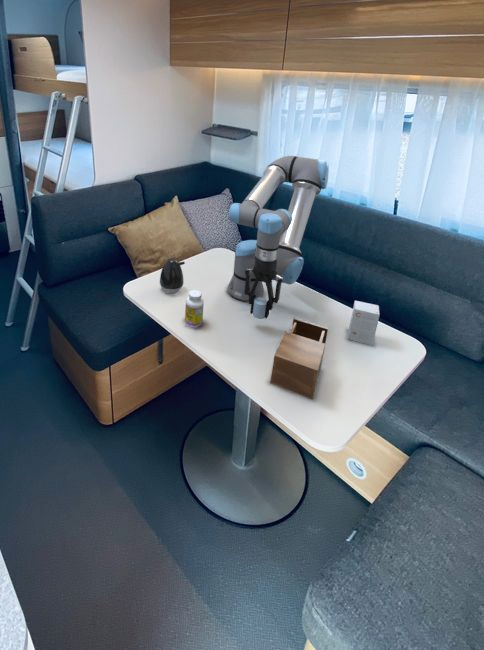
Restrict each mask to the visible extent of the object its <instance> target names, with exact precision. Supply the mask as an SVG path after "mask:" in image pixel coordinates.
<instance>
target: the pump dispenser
mask: <svg viewBox="0 0 484 650" xmlns="http://www.w3.org/2000/svg"><path fill="white" fill-rule="evenodd" d="M185 264H186V262H185V261H178V259H177V258H176V257H175V258H174V257H170V258H167V260H166V261H165V262H164V264H163V266H162V268H161V272H160V276H159V285H160V287H161V289H162V290H163V292H164V293H167V294H176V293H179V292H180V291H181V290H182V288H183V286H184V283H185V282H184V274H183V269H182V266H183V265H185Z"/></svg>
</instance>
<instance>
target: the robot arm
mask: <svg viewBox="0 0 484 650" xmlns="http://www.w3.org/2000/svg"><path fill="white" fill-rule="evenodd" d="M328 182H329V163H328V162H327V161H326V160H323V159H319V158H310V157H304V156H296V155H287V156H286V155H285V156H282V157H280V158H278V159H275V160H274V161H272V162H270V163H269V164H268V165H267V166H266V168H265V169H264V171H263V175H262V177H261V178H260V179H259V181H258V182H257V183H256V184H255V186H254V187H253V188H252V189H251V191H250V192H249V193H248V195H246V197H245V199H244V200H243V201H242V202H241V203H240V202H233V203H232V204H231V205H230V208H229V210H228V219H229V221H230V222H231V223H234V224H238V225H240V226H241V225H242V226H245V227H250V228H255V229H257V233H256V239H247V240H242V241H240V242H239V243H238V244H236V246H235V252H234V261H233V262H234V263H233V265H234V266H233V274H232V276H231V279H230V281H229V282H228V285H227V293H228V295H229V296H230V297H232V298H233V299H235V300H238V301H240V302H245V303H248V305H250V310H249V311H250V312H249V313H250V315H253V306H254V299H255V298H264V294H265V287H264V284H263V283H265V286H266V292H267V298H268V299H267V304H266V312H265V318H264V319H268V317H269V315H270V311H272V309H273V307H274V304H278V302H279V301H280V297H281V290H282V284H286V285H293V284H295V283H296V282H297V281H298V278H300V275H301V273H302V270H303V266H304V264H305V259H304V258H303V256H302V255H303V253H302V251H301V249H300V247H301V244H302V240H303V238H304V234H305V231H306V227H307V224H308V221H309V218H310V215H311V212H312V208H313V205H314V201H315V198H316V196H318V195H320V193H321V190H324V189H327V186H328ZM284 183H289V184H291V187H292V189H293V192H292V196H291V200H290V203H289V206H288V209H284V208H278V209H276V210H271V209H267V208H264V207H265V206H266V204H267V202H268V201H269V200H270V198H271V197H272V196H273V194H274V193H275V192H276V190H277V189H278V187H279V186H282V185H283V184H284ZM273 281H275V282H276V284H275V291H274V288H273ZM274 292H275V293H274Z"/></svg>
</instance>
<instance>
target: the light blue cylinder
mask: <svg viewBox="0 0 484 650" xmlns="http://www.w3.org/2000/svg"><path fill="white" fill-rule="evenodd" d="M267 301H268V299H266V298H264V297H263V298H255V299H254V306H253V313H252V316H253V317H254V318H255V319H258V320H264V319H266V318H265V312H266V304H267Z"/></svg>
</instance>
